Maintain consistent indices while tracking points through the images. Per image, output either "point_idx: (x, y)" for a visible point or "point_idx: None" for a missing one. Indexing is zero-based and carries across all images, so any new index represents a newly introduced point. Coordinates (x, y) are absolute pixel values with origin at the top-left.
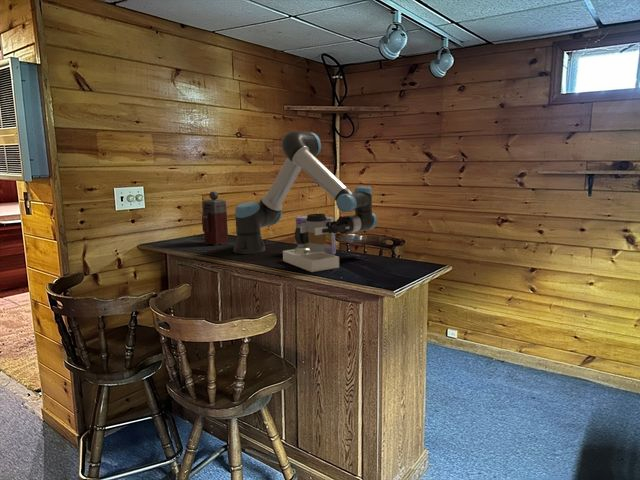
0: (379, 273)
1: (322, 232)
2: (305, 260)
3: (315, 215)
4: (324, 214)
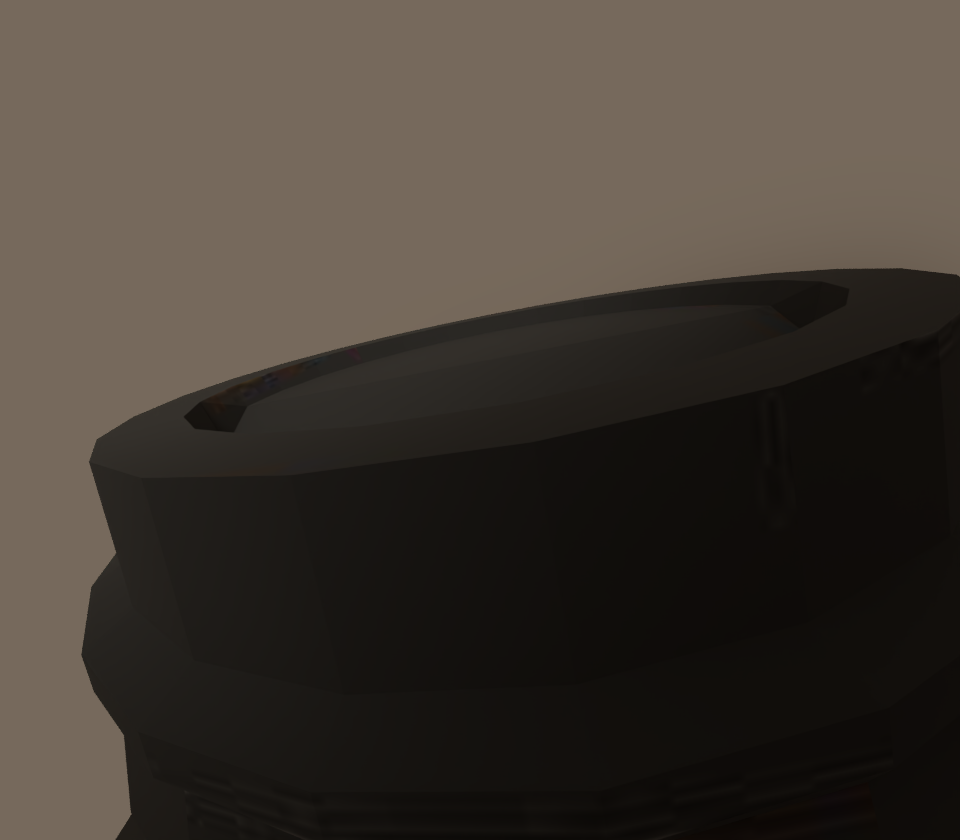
0: None
1: None
2: None
3: (509, 351)
4: (180, 454)
